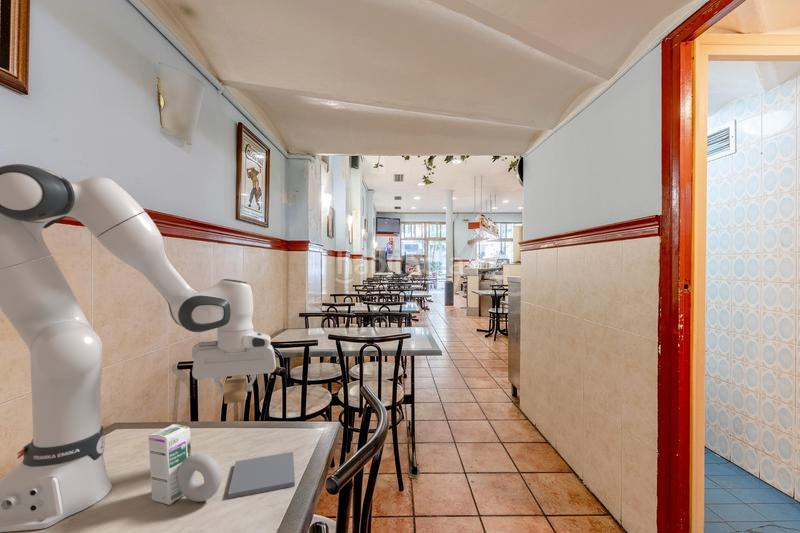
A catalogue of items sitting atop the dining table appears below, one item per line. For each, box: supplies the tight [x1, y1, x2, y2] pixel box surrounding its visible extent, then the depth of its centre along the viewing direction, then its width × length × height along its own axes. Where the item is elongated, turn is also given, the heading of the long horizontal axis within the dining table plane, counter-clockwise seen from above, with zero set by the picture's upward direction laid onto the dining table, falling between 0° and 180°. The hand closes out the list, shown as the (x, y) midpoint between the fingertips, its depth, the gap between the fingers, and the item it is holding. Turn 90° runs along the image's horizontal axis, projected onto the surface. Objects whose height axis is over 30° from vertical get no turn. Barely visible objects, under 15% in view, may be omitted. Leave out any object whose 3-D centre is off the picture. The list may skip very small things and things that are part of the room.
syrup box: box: [148, 423, 192, 506], centre depth 81 cm, size 6×6×14 cm
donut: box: [177, 452, 222, 503], centre depth 79 cm, size 10×4×10 cm, turn 79°
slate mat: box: [227, 451, 296, 499], centre depth 89 cm, size 14×14×1 cm
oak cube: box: [223, 376, 248, 404], centre depth 98 cm, size 5×5×5 cm
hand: (236, 391), depth 98 cm, fingers closed on oak cube, 5 cm apart
